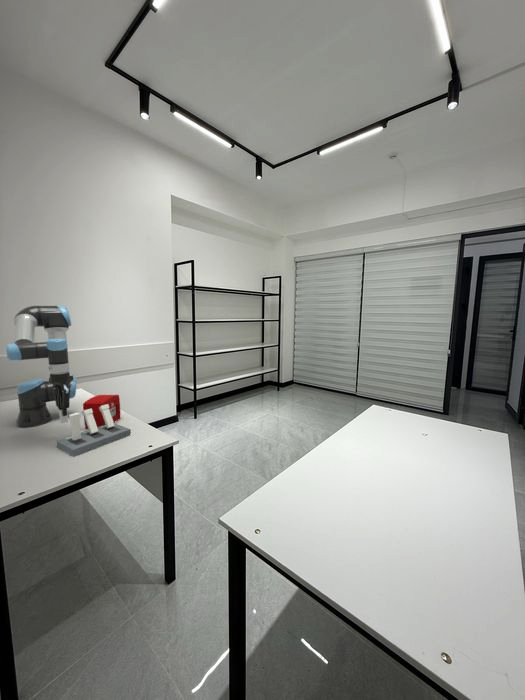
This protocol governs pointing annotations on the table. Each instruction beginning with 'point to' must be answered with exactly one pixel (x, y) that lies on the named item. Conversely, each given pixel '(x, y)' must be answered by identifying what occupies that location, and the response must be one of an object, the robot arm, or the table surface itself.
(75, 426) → the handle
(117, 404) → the fire alarm
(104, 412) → the handle
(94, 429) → the handle
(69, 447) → the breaker panel
